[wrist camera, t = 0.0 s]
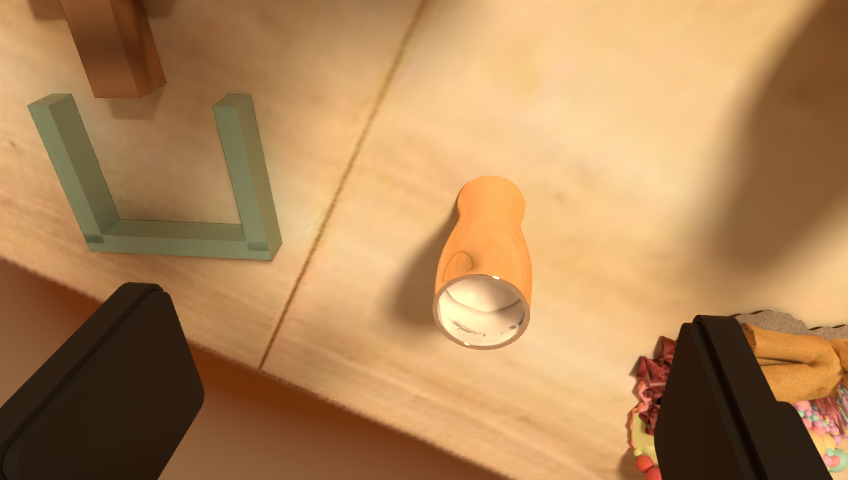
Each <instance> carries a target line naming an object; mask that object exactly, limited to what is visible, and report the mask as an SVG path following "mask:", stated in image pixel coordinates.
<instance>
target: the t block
mask: <svg viewBox="0 0 848 480" xmlns="http://www.w3.org/2000/svg"><path fill="white" fill-rule="evenodd" d="M59 1H60V3H61V6H62V9H63V12H64V14H65V17H66V20H67V22H68V25H69V28H70V31H71V33H72V36H73V39H74V42H75V44H76V47H77V50H78V53H79V55H80V58H81V61H82V64H83V66H84V69H85V72H86V74H87V77H88V80H89V83H90V85H91V88H92V91H93V94H94V96H95V98H141V97H143V96H144V95H146V94H148V93H150V92H151V91H153V90H155V89H157V88H158V87H160V86H162V85H163V84H165V83H166V80H165V77H164V74H163V70H162V67H161V63H160V60H159V56H158V53H157V50H156V46H155V43H154V39H153V36H152V32H151V29H150V26H149V22H148V19H147V15H146V12H145V8H144V5H143V2H142V0H59Z"/></svg>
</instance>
